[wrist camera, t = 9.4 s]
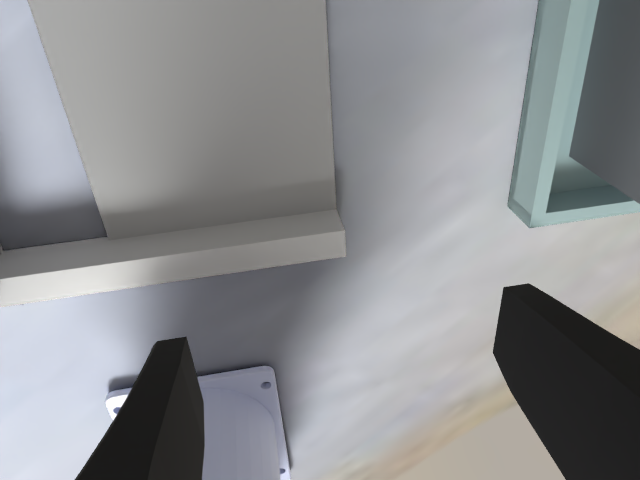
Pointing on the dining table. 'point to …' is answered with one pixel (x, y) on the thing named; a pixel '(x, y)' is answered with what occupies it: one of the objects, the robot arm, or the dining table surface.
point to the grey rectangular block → (612, 99)
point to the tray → (558, 125)
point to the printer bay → (188, 142)
